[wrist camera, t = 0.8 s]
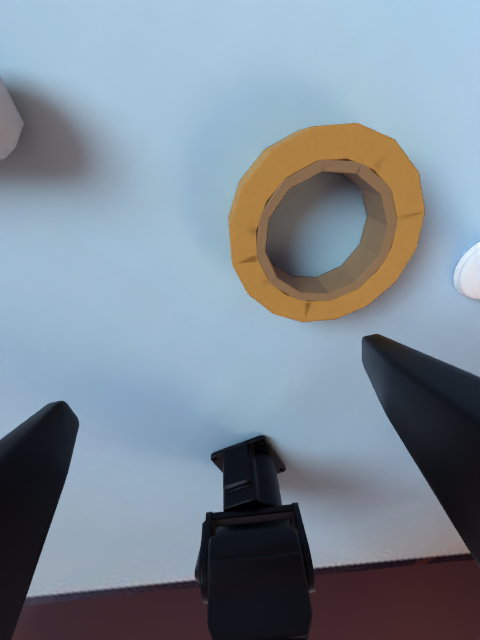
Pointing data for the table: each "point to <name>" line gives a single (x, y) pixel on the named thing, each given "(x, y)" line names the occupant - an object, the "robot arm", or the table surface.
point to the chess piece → (468, 273)
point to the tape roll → (378, 235)
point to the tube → (8, 122)
